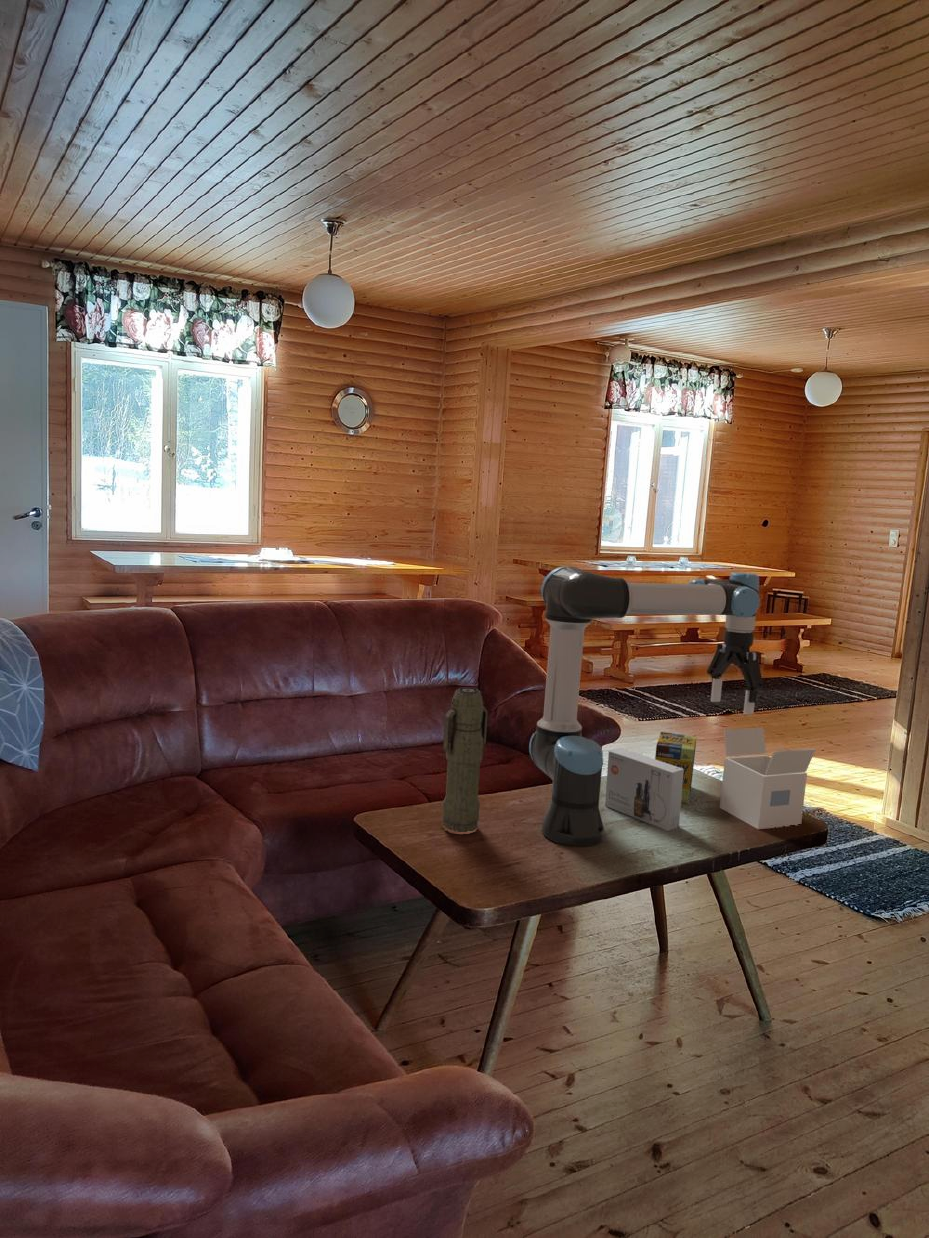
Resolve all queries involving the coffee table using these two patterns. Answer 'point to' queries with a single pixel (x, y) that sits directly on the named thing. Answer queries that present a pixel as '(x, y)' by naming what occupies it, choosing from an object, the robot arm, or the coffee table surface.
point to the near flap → (789, 761)
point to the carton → (762, 793)
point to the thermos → (464, 759)
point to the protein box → (678, 756)
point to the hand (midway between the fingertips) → (731, 707)
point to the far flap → (744, 741)
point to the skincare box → (644, 788)
